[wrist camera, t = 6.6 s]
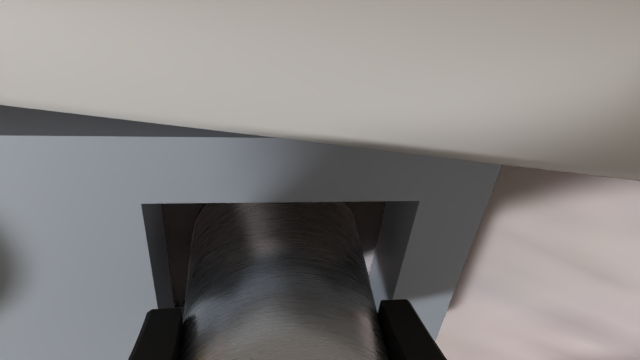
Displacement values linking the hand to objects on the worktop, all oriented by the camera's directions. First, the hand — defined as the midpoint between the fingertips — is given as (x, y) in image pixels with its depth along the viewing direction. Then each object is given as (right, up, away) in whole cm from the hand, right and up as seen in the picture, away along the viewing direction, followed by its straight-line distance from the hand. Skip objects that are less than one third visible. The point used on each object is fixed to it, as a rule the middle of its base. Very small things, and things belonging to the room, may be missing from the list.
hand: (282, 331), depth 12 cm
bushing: (0, +2, +2) cm, 3 cm away
